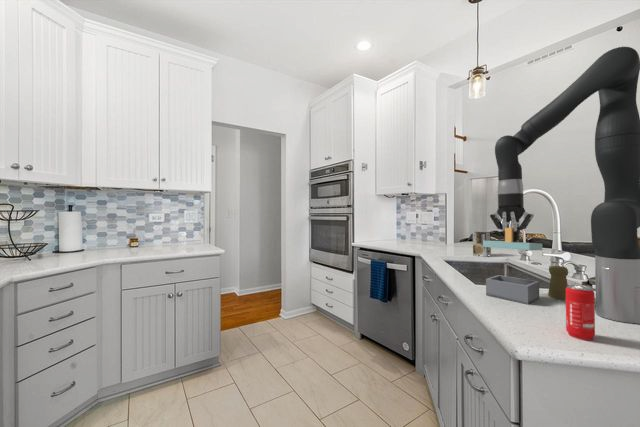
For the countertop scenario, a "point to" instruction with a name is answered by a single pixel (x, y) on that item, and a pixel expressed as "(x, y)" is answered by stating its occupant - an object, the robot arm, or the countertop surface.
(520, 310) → the countertop surface
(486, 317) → the countertop surface
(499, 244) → the lid
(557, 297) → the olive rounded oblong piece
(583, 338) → the beverage can
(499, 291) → the tub
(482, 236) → the coffee box
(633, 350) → the countertop surface
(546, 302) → the countertop surface
